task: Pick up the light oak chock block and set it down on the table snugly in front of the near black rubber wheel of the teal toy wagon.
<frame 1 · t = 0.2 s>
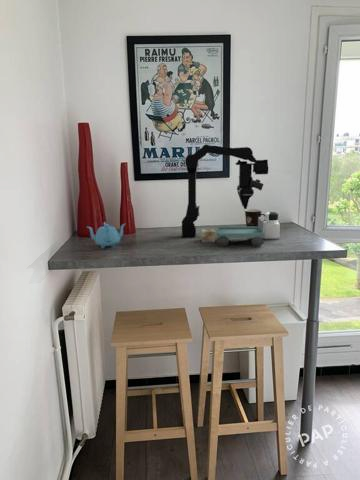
hand: (244, 207, 173), 14 cm above the table, fingers open, 9 cm apart
chock: (208, 240, 169), on the table
coffee mug: (254, 229, 190), on the table
teapot: (107, 246, 165), on the table
teal toy wagon: (238, 242, 164), on the table
medicine bottle: (270, 237, 173), on the table
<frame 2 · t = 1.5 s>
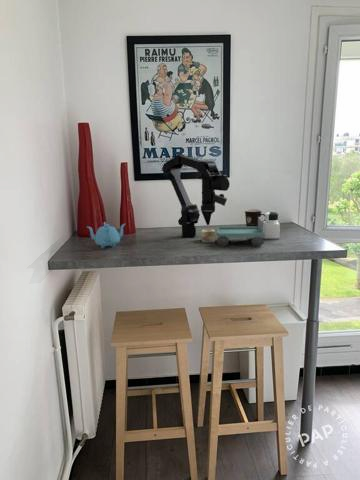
hand: (208, 222, 167), 9 cm above the table, fingers open, 9 cm apart
nothing on the table moved.
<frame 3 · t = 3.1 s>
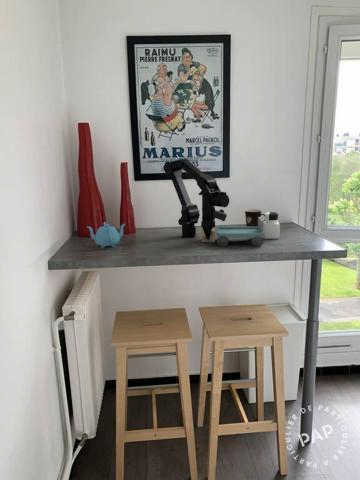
hand: (208, 238, 169), 1 cm above the table, fingers closed on chock, 5 cm apart
chock: (208, 240, 169), on the table, touching gripper
everything else where it was.
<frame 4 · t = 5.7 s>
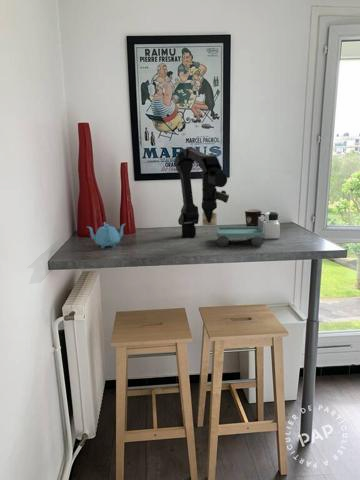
hand: (209, 221, 157), 11 cm above the table, fingers closed on chock, 5 cm apart
chock: (209, 224, 157), point 10 cm above the table, touching gripper
everything else where it was.
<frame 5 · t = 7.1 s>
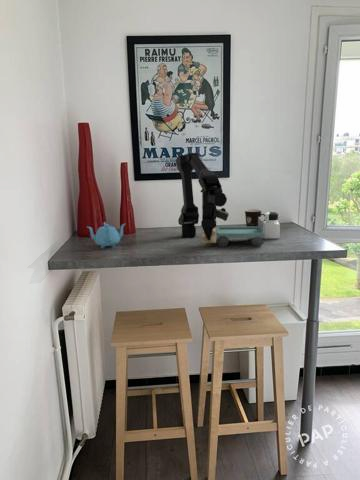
hand: (209, 238, 159), 3 cm above the table, fingers closed on chock, 5 cm apart
chock: (209, 241, 159), point 2 cm above the table, touching gripper
everything else where it was.
when the fingers open (2 cm above the table, at t = 8.2 s): chock drops 1 cm, on the table.
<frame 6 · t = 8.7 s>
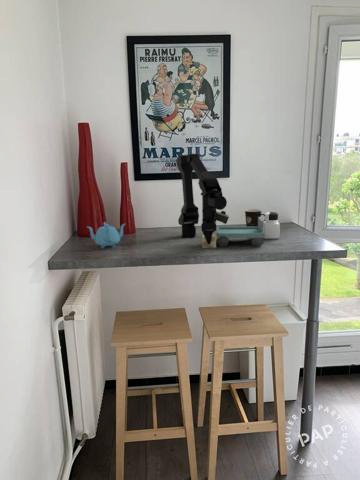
hand: (209, 241, 159), 2 cm above the table, fingers open, 9 cm apart
chock: (209, 246, 159), on the table
everything else where it was.
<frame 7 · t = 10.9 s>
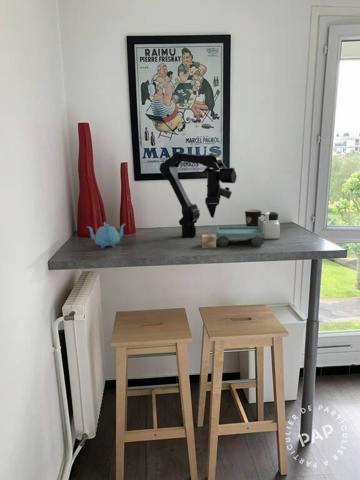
hand: (213, 215, 169), 11 cm above the table, fingers open, 9 cm apart
nothing on the table moved.
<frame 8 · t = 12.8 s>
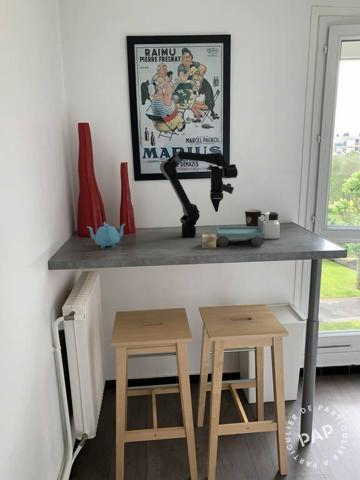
hand: (216, 210, 180), 12 cm above the table, fingers open, 9 cm apart
nothing on the table moved.
at the end: chock 0.2 cm from the target spot, on the table; chock tilted 0°; the gripper is holding nothing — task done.
